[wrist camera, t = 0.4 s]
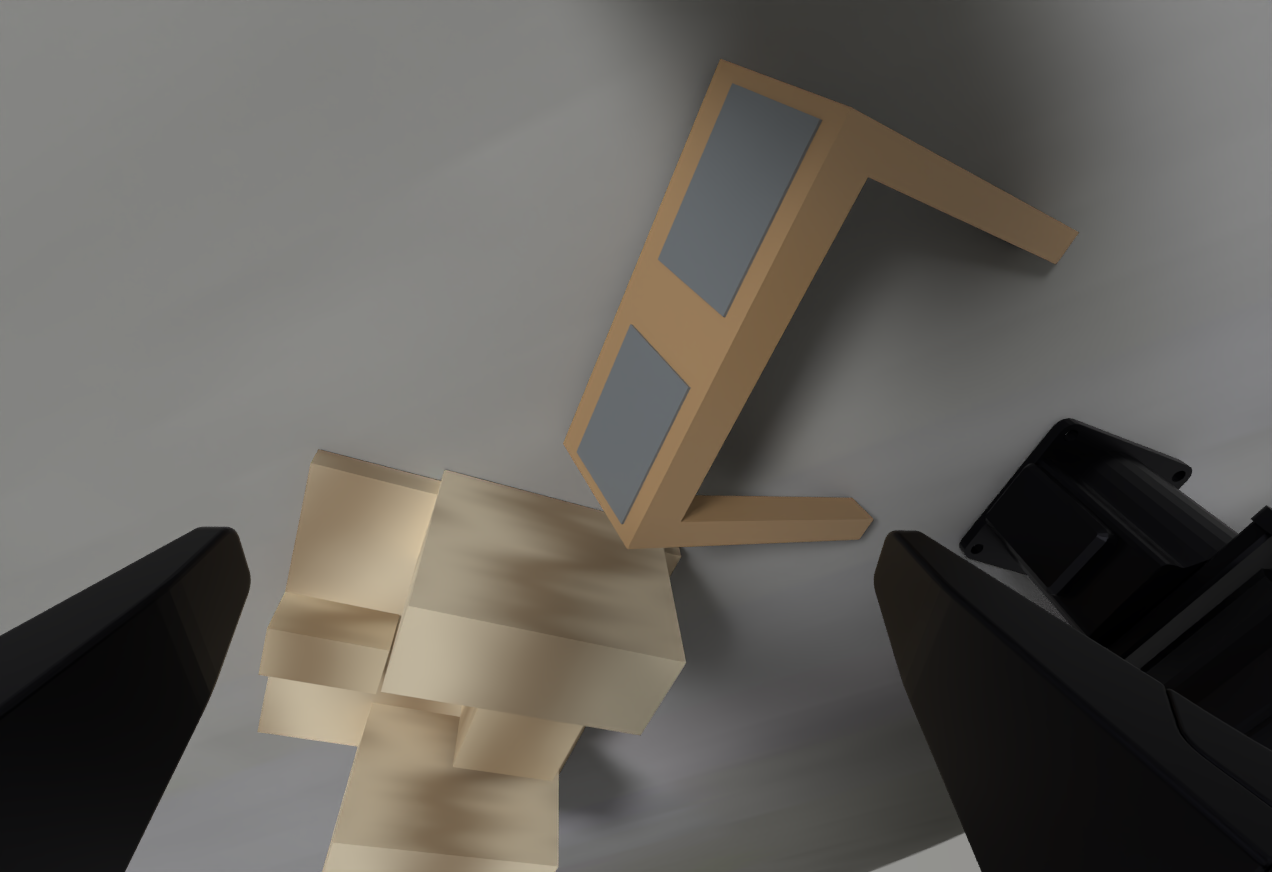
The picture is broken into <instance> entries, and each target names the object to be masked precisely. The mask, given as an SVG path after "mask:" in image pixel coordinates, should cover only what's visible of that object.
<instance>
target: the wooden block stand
mask: <svg viewBox="0 0 1272 872" xmlns="http://www.w3.org/2000/svg"><path fill="white" fill-rule="evenodd" d="M680 558H681V554H680V549H679V547H669V548H645V549H627V548H626V546H625V545H624V543H623V541H622V540H621V538H620V536H619V535H618V533H617V532H616V530H615V528H614V527H613V525H612V523H611V522H610V520H609V518H608V517H607V515H606V513H605V512H603V511H599V510H596V509H592V508H588V507H584V506H580V505H577V504H573V503H569V502H565V501H561V500H558V499H554V498H550V497H546V496H543V495H539V494H535V493H531V492H527V491H524V490H520V489H516V488H512V487H508V486H505V485H501V484H497V483H493V482H490V481H486V480H482V479H478V478H474V477H471V476H467V475H463V474H459V473H455V472H452V471H448V470H444V474H443V477H442V480H441V481H439V480H435V479H431V478H427V477H423V476H419V475H416V474H412V473H408V472H404V471H400V470H396V469H392V468H389V467H385V466H381V465H377V464H373V463H369V462H365V461H362V460H358V459H354V458H350V457H346V456H342V455H338V454H335V453H331V452H327V451H323V450H318V451H317V453H316V455H315V457H314V458H313V460H312V462H311V464H310V469H309V474H308V480H307V485H306V490H305V495H304V500H303V505H302V510H301V515H300V520H299V525H298V530H297V535H296V540H295V545H294V550H293V555H292V560H291V565H290V570H289V576H288V581H287V586H286V591H285V593H284V595H283V597H282V599H281V601H280V603H279V605H278V608H277V610H276V612H275V614H274V616H273V618H272V620H271V622H270V624H269V626H268V628H267V632H266V638H265V643H264V648H263V654H262V659H261V664H260V670H259V675H263V676H269V677H268V682H267V687H266V692H265V697H264V702H263V707H262V712H261V717H260V722H259V727H258V732H261V733H268V734H275V735H282V736H289V737H296V738H303V739H310V740H317V741H323V742H330V743H337V744H344V745H351V746H358V748H357V751H356V755H355V758H354V762H353V765H352V769H351V772H350V776H349V779H348V783H347V786H346V790H345V794H344V797H343V801H342V804H341V808H340V811H339V815H338V818H337V822H336V825H335V829H334V832H333V836H332V839H331V843H330V846H329V850H328V853H327V857H326V860H325V864H324V867H323V871H322V872H555V871H556V870H557V868H558V840H559V774H560V772H561V770H562V768H563V766H564V765H565V763H566V761H567V759H568V758H569V756H570V754H571V752H572V750H573V749H574V747H575V745H576V743H577V741H578V740H579V738H580V736H581V734H582V733H583V731H584V729H585V727H586V726H587V727H593V728H599V729H605V730H611V731H617V732H623V733H629V734H635V735H641V734H642V733H643V731H644V729H645V728H646V726H647V725H648V723H649V721H650V720H651V718H652V717H653V715H654V713H655V712H656V710H657V709H658V707H659V705H660V704H661V702H662V701H663V699H664V697H665V696H666V694H667V693H668V691H669V689H670V688H671V686H672V685H673V683H674V682H675V680H676V678H677V677H678V675H679V674H680V672H681V670H682V669H683V667H684V666H685V664H686V659H685V654H684V649H683V644H682V639H681V634H680V629H679V624H678V619H677V614H676V609H675V604H674V599H673V594H672V588H671V583H670V578H669V577H670V576H671V574H672V572H673V570H674V569H675V567H676V565H677V563H678V561H679V560H680Z"/></svg>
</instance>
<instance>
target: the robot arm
mask: <svg viewBox="0 0 1272 872" xmlns="http://www.w3.org/2000/svg"><path fill="white" fill-rule="evenodd" d="M1069 431H1070V432H1069ZM1067 432H1069V433H1068V434H1067V435H1065V434H1066V433H1067ZM1191 474H1192V468H1191V467H1189V466H1188V465H1187V464H1185V463H1184V462H1182V461H1181V460H1179V459H1176V458H1174V457H1171V456H1168V455H1166V454H1163V453H1161V452H1158V451H1155V450H1153V449H1150V448H1148V447H1145V446H1142V445H1140V444H1137V443H1135V442H1132V441H1129V440H1127V439H1124V438H1122V437H1119V436H1116V435H1114V434H1111V433H1109V432H1106V431H1103V430H1101V429H1098V428H1096V427H1093V426H1090V425H1088V424H1085V423H1083V422H1080V421H1077V420H1075V419H1070V418H1067V419H1063V420H1061V421H1059V422H1058V423H1057V424H1055V425H1054V426H1053V428H1052V429H1051V430H1050V431H1049V433H1048V434H1047V435H1046V436H1045V437H1044V439H1043V440H1042V441H1041V442H1040V444H1039V445H1038V446H1037V447H1036V449H1035V450H1034V451H1033V452H1032V454H1031V455H1030V456H1029V457H1028V458H1027V460H1026V461H1025V462H1024V463H1023V465H1022V466H1021V467H1020V468H1019V470H1018V471H1017V472H1016V473H1015V475H1014V476H1013V477H1012V478H1011V479H1010V481H1009V482H1008V483H1007V484H1006V486H1005V487H1004V488H1003V489H1002V491H1001V492H1000V493H999V494H998V496H997V497H996V498H995V499H994V500H993V502H992V503H991V504H990V505H989V507H988V508H987V509H986V510H985V512H984V513H983V514H982V515H981V517H980V518H979V519H978V520H977V521H976V523H975V524H974V525H973V526H972V528H971V529H970V530H969V531H968V533H967V534H966V535H965V536H964V538H963V539H962V540H961V542H960V549H961V550H962V552H963V553H964V554H965V556H966V557H968V558H970V559H974V560H977V561H980V562H984V563H987V564H991V565H994V566H998V567H1001V568H1005V569H1008V570H1011V571H1015V572H1018V573H1022V574H1025V575H1028V576H1029V577H1030V579H1031V580H1032V581H1033V582H1034V583H1035V584H1036V586H1037V587H1038V588H1039V589H1040V590H1041V591H1042V593H1043V594H1044V595H1045V596H1046V597H1047V598H1048V600H1049V601H1050V602H1051V603H1052V604H1053V605H1054V606H1055V608H1056V609H1057V610H1058V611H1059V612H1060V613H1061V615H1062V616H1063V617H1064V618H1065V619H1066V620H1067V622H1068V623H1069V624H1070V625H1071V626H1072V627H1071V626H1070V625H1068V624H1067V623H1065V622H1063V621H1062V620H1060V619H1059V618H1057V617H1055V616H1054V615H1052V614H1051V613H1049V612H1047V611H1046V610H1044V609H1043V608H1041V607H1039V606H1038V605H1036V604H1035V603H1033V602H1032V601H1030V600H1028V599H1027V598H1025V597H1024V596H1022V595H1020V594H1019V593H1017V592H1016V591H1014V590H1012V589H1011V588H1009V587H1008V586H1006V585H1004V584H1003V583H1001V582H1000V581H998V580H996V579H995V578H993V577H992V576H990V575H989V574H987V573H985V572H984V571H982V570H981V569H979V568H977V567H976V566H974V565H973V564H971V563H969V562H968V561H966V560H965V559H963V558H961V557H960V556H958V555H957V554H955V553H953V552H952V551H950V550H949V549H947V548H946V547H944V546H942V545H941V544H939V543H938V542H936V541H934V540H933V539H931V538H930V537H928V536H926V535H925V534H923V533H921V532H919V531H906V530H895V531H892V532H890V533H889V534H888V535H887V537H886V539H885V542H884V545H883V548H882V551H881V554H880V557H879V561H878V564H877V567H876V570H875V574H874V588H875V592H876V596H877V599H878V602H879V606H880V609H881V612H882V616H883V619H884V623H885V626H886V629H887V633H888V636H889V639H890V643H891V646H892V649H893V653H894V656H895V660H896V663H897V666H898V670H899V673H900V676H901V679H902V682H903V685H904V687H905V690H906V692H907V695H908V698H909V700H910V702H911V705H912V707H913V710H914V712H915V714H916V717H917V719H918V722H919V724H920V726H921V729H922V731H923V733H924V736H925V738H926V741H927V743H928V745H929V748H930V750H931V753H932V755H933V757H934V760H935V762H936V764H937V767H938V769H939V772H940V774H941V776H942V779H943V781H944V783H945V786H946V788H947V791H948V793H949V795H950V798H951V800H952V803H953V805H954V807H955V810H956V812H957V814H958V817H959V819H960V822H961V824H962V826H963V829H964V831H965V834H966V836H967V838H968V841H969V843H970V845H971V847H972V850H973V852H974V855H975V857H976V860H977V862H978V864H979V867H980V869H981V872H1272V508H1271V507H1269V506H1267V505H1266V506H1265V507H1264V508H1262V509H1261V510H1260V511H1259V512H1258V513H1257V514H1255V515H1254V516H1253V517H1252V518H1251V519H1252V520H1253V522H1252V523H1251V524H1250V525H1248V526H1247V527H1246V528H1245V529H1244V530H1243V531H1241V532H1240V533H1239V534H1238V533H1237V532H1235V531H1234V530H1233V529H1231V528H1230V527H1228V526H1227V525H1226V524H1224V523H1223V522H1222V521H1220V520H1219V519H1218V518H1216V517H1215V516H1214V515H1212V514H1211V513H1209V512H1208V511H1207V510H1205V509H1204V508H1203V507H1201V506H1200V505H1199V504H1197V503H1196V502H1195V501H1193V500H1192V499H1191V498H1189V497H1188V496H1186V495H1185V494H1184V493H1182V492H1181V491H1180V490H1179V488H1180V487H1181V486H1182V485H1183V484H1184V483H1185V482H1186V481H1187V480H1188V479H1189V478H1190V476H1191ZM974 545H975V546H974ZM250 583H251V577H250V571H249V568H248V565H247V561H246V558H245V555H244V552H243V548H242V545H241V542H240V539H239V536H238V534H237V532H236V531H235V530H234V529H233V528H230V527H199V528H196V529H194V530H192V531H190V532H189V533H187V534H185V535H183V536H181V537H179V538H178V539H176V540H174V541H172V542H170V543H169V544H167V545H165V546H163V547H161V548H159V549H158V550H156V551H154V552H152V553H150V554H148V555H147V556H145V557H143V558H141V559H139V560H137V561H136V562H134V563H132V564H130V565H128V566H127V567H125V568H123V569H121V570H119V571H117V572H116V573H114V574H112V575H110V576H108V577H106V578H105V579H103V580H101V581H99V582H97V583H96V584H94V585H92V586H90V587H88V588H86V589H85V590H83V591H81V592H79V593H77V594H75V595H74V596H72V597H70V598H68V599H66V600H65V601H63V602H61V603H59V604H57V605H55V606H54V607H52V608H50V609H48V610H46V611H44V612H43V613H41V614H39V615H37V616H35V617H34V618H32V619H30V620H28V621H26V622H24V623H23V624H21V625H19V626H17V627H15V628H13V629H12V630H10V631H8V632H6V633H4V634H3V635H1V636H0V872H125V871H126V869H127V867H128V865H129V863H130V861H131V858H132V856H133V854H134V852H135V850H136V848H137V846H138V844H139V842H140V840H141V838H142V836H143V834H144V832H145V830H146V828H147V826H148V824H149V822H150V820H151V818H152V816H153V814H154V812H155V810H156V808H157V806H158V804H159V802H160V799H161V797H162V795H163V793H164V791H165V789H166V787H167V785H168V783H169V781H170V779H171V777H172V775H173V773H174V771H175V769H176V767H177V765H178V763H179V761H180V759H181V757H182V755H183V753H184V751H185V749H186V747H187V745H188V743H189V740H190V738H191V736H192V734H193V732H194V730H195V728H196V726H197V724H198V722H199V720H200V718H201V716H202V714H203V712H204V710H205V708H206V705H207V703H208V701H209V699H210V697H211V694H212V692H213V689H214V687H215V684H216V682H217V679H218V677H219V674H220V671H221V668H222V666H223V663H224V660H225V657H226V654H227V652H228V649H229V646H230V643H231V640H232V638H233V635H234V632H235V629H236V627H237V624H238V621H239V618H240V615H241V613H242V610H243V607H244V604H245V602H246V599H247V596H248V593H249V590H250Z"/></svg>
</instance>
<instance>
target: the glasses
mask: <svg viewBox="0 0 1272 872" xmlns="http://www.w3.org/2000/svg"><path fill="white" fill-rule="evenodd" d="M868 177H869V178H871V179H873V180H875V181H877V182H880V183H882V184H884V185H886V186H888V187H890V188H893V189H895V190H897V191H899V192H901V193H903V194H905V195H908V196H910V197H912V198H914V199H916V200H918V201H921V202H923V203H925V204H927V205H929V206H931V207H933V208H936V209H938V210H940V211H942V212H944V213H946V214H949V215H951V216H953V217H955V218H957V219H959V220H961V221H964V222H966V223H968V224H970V225H972V226H974V227H976V228H979V229H981V230H983V231H985V232H987V233H989V234H992V235H994V236H996V237H998V238H1000V239H1002V240H1004V241H1007V242H1009V243H1011V244H1013V245H1015V246H1017V247H1020V248H1022V249H1024V250H1026V251H1028V252H1030V253H1032V254H1035V255H1037V256H1039V257H1041V258H1043V259H1045V260H1048V261H1050V262H1052V263H1054V264H1057V263H1058V261H1059V260H1060V258H1061V257H1062V256H1063V254H1064V253H1065V251H1066V250H1067V249H1068V247H1069V246H1070V244H1071V243H1072V242H1073V240H1074V239H1075V237H1076V236H1077V235H1078V233H1079V232H1077V231H1076V230H1074V229H1072V228H1070V227H1068V226H1067V225H1065V224H1063V223H1061V222H1059V221H1057V220H1056V219H1054V218H1052V217H1050V216H1048V215H1046V214H1045V213H1043V212H1041V211H1039V210H1037V209H1036V208H1034V207H1032V206H1030V205H1028V204H1026V203H1025V202H1023V201H1021V200H1019V199H1017V198H1016V197H1014V196H1012V195H1010V194H1008V193H1006V192H1005V191H1003V190H1001V189H999V188H997V187H996V186H994V185H992V184H990V183H988V182H986V181H985V180H983V179H981V178H979V177H977V176H975V175H974V174H972V173H970V172H968V171H966V170H965V169H963V168H961V167H959V166H957V165H955V164H954V163H952V162H950V161H948V160H946V159H945V158H943V157H941V156H939V155H937V154H935V153H934V152H932V151H930V150H928V149H926V148H925V147H923V146H921V145H919V144H917V143H915V142H914V141H912V140H910V139H908V138H906V137H904V136H903V135H901V134H899V133H897V132H895V131H894V130H892V129H890V128H888V127H886V126H884V125H883V124H881V123H879V122H877V121H875V120H874V119H872V118H870V117H868V116H866V115H864V114H863V113H861V112H859V111H857V110H855V109H854V108H852V107H849V106H846V105H844V104H841V103H838V102H836V101H833V100H830V99H828V98H825V97H822V96H819V95H817V94H814V93H811V92H809V91H806V90H803V89H801V88H798V87H795V86H793V85H790V84H787V83H784V82H782V81H779V80H776V79H774V78H771V77H768V76H766V75H763V74H760V73H758V72H755V71H752V70H749V69H747V68H744V67H741V66H739V65H736V64H733V63H731V62H728V61H725V60H723V59H720V61H719V63H718V66H717V68H716V70H715V73H714V75H713V78H712V80H711V83H710V85H709V88H708V90H707V93H706V95H705V97H704V100H703V102H702V105H701V107H700V110H699V112H698V115H697V117H696V119H695V122H694V124H693V127H692V129H691V132H690V134H689V137H688V139H687V142H686V144H685V146H684V149H683V151H682V154H681V156H680V159H679V161H678V164H677V166H676V169H675V171H674V173H673V176H672V178H671V181H670V183H669V186H668V188H667V191H666V193H665V195H664V198H663V200H662V203H661V205H660V208H659V210H658V213H657V215H656V218H655V220H654V222H653V225H652V227H651V230H650V232H649V235H648V237H647V240H646V242H645V244H644V247H643V249H642V252H641V254H640V257H639V259H638V262H637V264H636V267H635V269H634V271H633V274H632V276H631V279H630V281H629V284H628V286H627V289H626V291H625V293H624V296H623V298H622V301H621V303H620V306H619V308H618V311H617V313H616V316H615V318H614V320H613V323H612V325H611V328H610V330H609V333H608V335H607V338H606V340H605V343H604V345H603V347H602V350H601V352H600V355H599V357H598V360H597V362H596V365H595V367H594V369H593V372H592V374H591V377H590V379H589V382H588V384H587V387H586V389H585V392H584V394H583V396H582V399H581V401H580V404H579V406H578V409H577V411H576V414H575V416H574V418H573V421H572V423H571V426H570V428H569V431H568V433H567V436H566V438H565V441H564V443H563V444H564V446H565V447H566V449H567V451H568V452H569V454H570V456H571V457H572V459H573V461H574V462H575V464H576V466H577V467H578V469H579V471H580V472H581V474H582V475H583V477H584V479H585V480H586V482H587V484H588V485H589V487H590V489H591V490H592V492H593V494H594V495H595V497H596V499H597V500H598V502H599V504H600V505H601V507H602V508H603V510H604V512H605V513H606V515H607V517H608V518H609V520H610V522H611V523H612V525H613V527H614V528H615V530H616V532H617V533H618V535H619V536H620V538H621V540H622V541H623V543H624V545H625V546H626V548H627V549H645V548H669V547H693V546H717V545H741V544H764V543H788V542H812V541H836V540H859V539H860V538H861V536H862V535H863V533H864V532H865V531H866V529H867V528H868V526H869V525H870V524H871V522H872V521H873V518H872V517H871V516H870V515H869V514H868V513H867V512H866V511H865V510H864V509H863V508H862V507H861V506H860V505H859V504H858V503H857V502H856V501H855V500H854V499H853V498H833V497H768V496H704V495H696V493H697V491H698V489H699V487H700V485H701V484H702V482H703V480H704V478H705V476H706V474H707V473H708V471H709V469H710V467H711V465H712V463H713V462H714V460H715V458H716V456H717V454H718V452H719V451H720V449H721V447H722V445H723V443H724V441H725V439H726V438H727V436H728V434H729V432H730V430H731V428H732V427H733V425H734V423H735V421H736V419H737V417H738V416H739V414H740V412H741V410H742V408H743V406H744V404H745V403H746V401H747V399H748V397H749V395H750V393H751V392H752V390H753V388H754V386H755V384H756V382H757V381H758V379H759V377H760V375H761V373H762V371H763V370H764V368H765V366H766V364H767V362H768V360H769V358H770V357H771V355H772V353H773V351H774V349H775V347H776V346H777V344H778V342H779V340H780V338H781V336H782V335H783V333H784V331H785V329H786V327H787V325H788V324H789V322H790V320H791V318H792V316H793V314H794V312H795V311H796V309H797V307H798V305H799V303H800V301H801V300H802V298H803V296H804V294H805V292H806V290H807V289H808V287H809V285H810V283H811V281H812V279H813V278H814V276H815V274H816V272H817V270H818V268H819V266H820V265H821V263H822V261H823V259H824V257H825V255H826V254H827V252H828V250H829V248H830V246H831V244H832V243H833V241H834V239H835V237H836V235H837V233H838V232H839V230H840V228H841V226H842V224H843V222H844V220H845V219H846V217H847V215H848V213H849V211H850V209H851V208H852V206H853V204H854V202H855V200H856V198H857V197H858V195H859V193H860V191H861V189H862V187H863V186H864V184H865V182H866V180H867V178H868Z"/></svg>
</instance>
